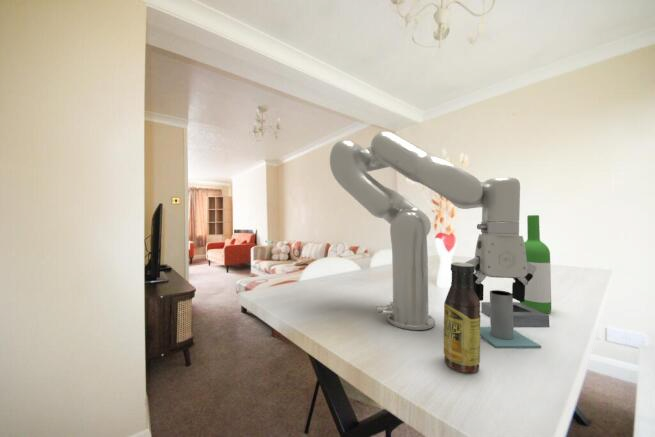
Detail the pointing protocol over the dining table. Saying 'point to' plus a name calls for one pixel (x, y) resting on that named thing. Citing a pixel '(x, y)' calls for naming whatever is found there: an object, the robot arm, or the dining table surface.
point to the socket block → (523, 315)
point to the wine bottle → (539, 257)
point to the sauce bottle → (462, 321)
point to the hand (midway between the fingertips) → (497, 299)
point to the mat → (516, 342)
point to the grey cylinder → (501, 314)
